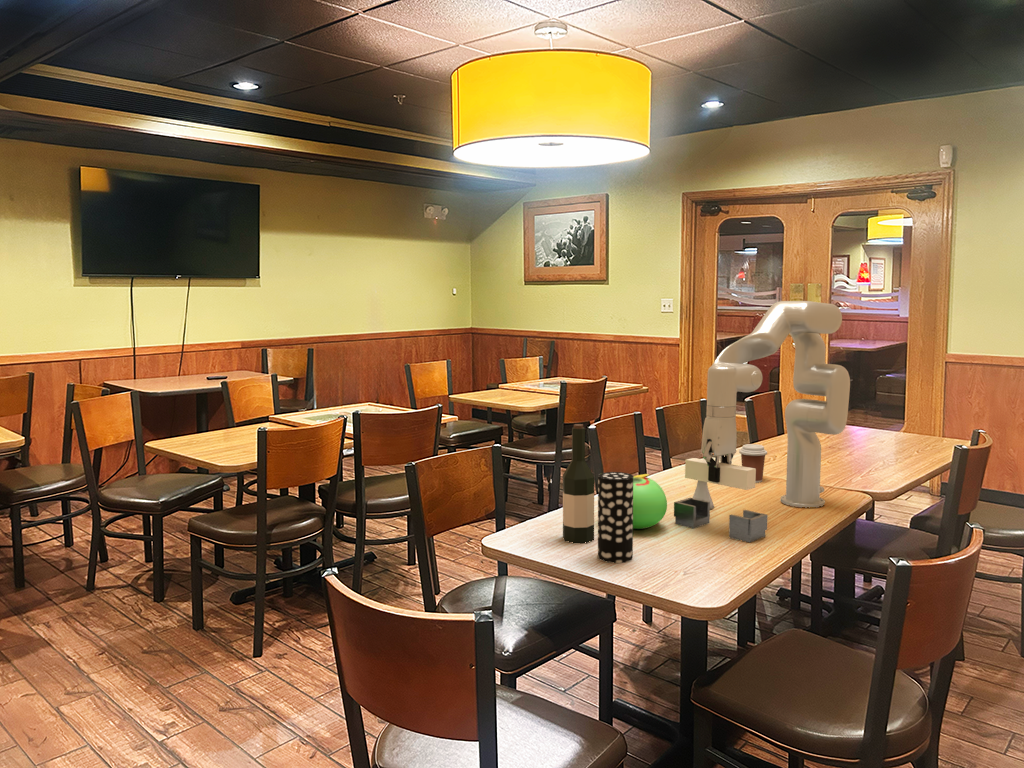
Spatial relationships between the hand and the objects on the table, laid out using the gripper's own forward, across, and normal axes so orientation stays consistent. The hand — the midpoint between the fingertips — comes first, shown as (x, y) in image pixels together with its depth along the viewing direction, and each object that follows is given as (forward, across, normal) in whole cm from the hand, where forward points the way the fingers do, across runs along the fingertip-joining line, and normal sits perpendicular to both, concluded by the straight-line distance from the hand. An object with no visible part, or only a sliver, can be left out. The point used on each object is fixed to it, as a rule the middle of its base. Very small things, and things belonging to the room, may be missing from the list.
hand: (719, 479), depth 206 cm
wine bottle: (+15, +32, -20) cm, 41 cm away
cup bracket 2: (+14, -1, +8) cm, 16 cm away
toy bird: (+14, +13, -18) cm, 26 cm away
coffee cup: (+13, -58, -24) cm, 64 cm away
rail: (+1, 0, 0) cm, 1 cm away
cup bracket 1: (+14, -1, -8) cm, 16 cm away
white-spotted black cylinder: (+15, +36, -4) cm, 39 cm away
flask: (+14, -17, -16) cm, 27 cm away
